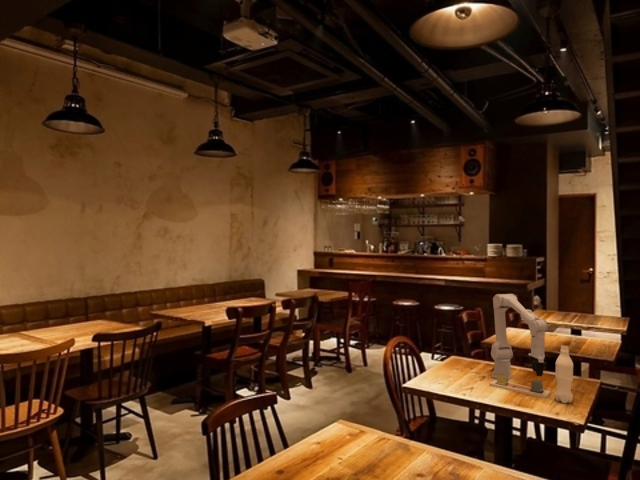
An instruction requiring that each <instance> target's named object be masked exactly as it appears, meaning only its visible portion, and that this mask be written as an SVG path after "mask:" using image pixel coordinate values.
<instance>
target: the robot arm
mask: <svg viewBox="0 0 640 480" xmlns="http://www.w3.org/2000/svg"><path fill="white" fill-rule="evenodd" d="M492 303H493V305H492V306H493V313H494V314H493V315H494V317H493V318H494V330H495V332H494V333H495V342H494V343H492V344H491V351H490V355H491V358H492V359H493V361H494V366H493V370H494V371H493V373H494V374H493V375H491V377H490V378H494V379H497V374H498V373H505V374H508V380H510V378H512V377H513V375H512V373H511V371H512V368H511V367H512V365H511V359H513V357H514V353H513V350H512V349H513V348H512V344H510V343H509V342H508V339H507V323H506V322H507V321H506V311H507V310H508V309H511V308H512V309H513V310H514V311H516V313H518V314H519V315H520V319H521V320H522V321H523V322H525V324H526V325H528V329H529V333H530V335H531V336H530V337H531V338H530V341H531V342H530V352H529V353H528V358H529V361H530V363H531V368H532V372H534V373H535V375H536V377H539V378H540V377H543V375H544V370H545V367H547V363H548V362H546V361H544V359H545V358H546V355H545V346H546V345H545V341H546V333H545V332H546V331H548V329H549V324H548V322H547V320H546V319H544V318H539V317H538V315H536V314H535V313H533V311H532V310H531V309H526V308H525V307H524V306H523V305H522V304H521V303H520V302H519V301H518V297H517V296H516V295H515V294H514V293H505V294H504V293H502V294H501V293H497V294H495V295H494V296H493V298H492Z"/></svg>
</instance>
